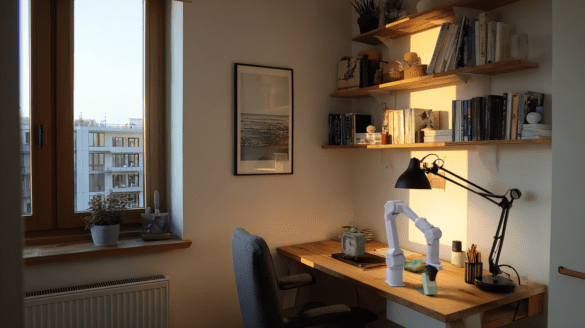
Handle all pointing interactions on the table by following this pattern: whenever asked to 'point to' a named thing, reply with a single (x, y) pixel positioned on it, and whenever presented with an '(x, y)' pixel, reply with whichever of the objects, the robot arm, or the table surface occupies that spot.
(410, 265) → the puzzle game
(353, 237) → the tabletop clock
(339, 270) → the table surface
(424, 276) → the sage block
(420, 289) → the mat
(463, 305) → the table surface
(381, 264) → the table surface
